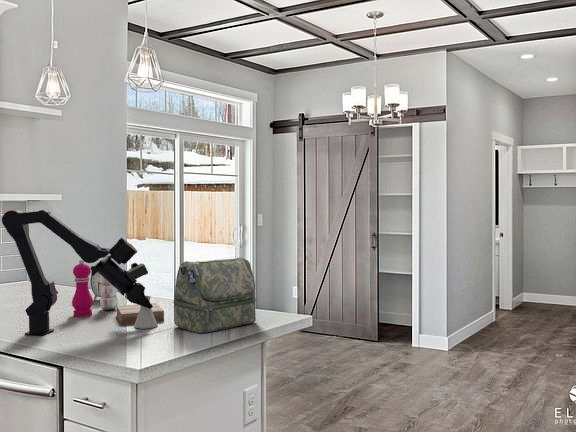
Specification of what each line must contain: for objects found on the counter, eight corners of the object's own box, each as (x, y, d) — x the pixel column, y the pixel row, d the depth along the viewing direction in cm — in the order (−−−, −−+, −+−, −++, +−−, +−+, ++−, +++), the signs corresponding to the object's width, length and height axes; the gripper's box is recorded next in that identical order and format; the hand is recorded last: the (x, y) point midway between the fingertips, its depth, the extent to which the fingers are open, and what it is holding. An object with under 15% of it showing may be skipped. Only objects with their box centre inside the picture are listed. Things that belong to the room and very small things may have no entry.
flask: (148, 323, 205) (147, 293, 204) (162, 326, 200) (161, 295, 200) (129, 327, 199) (129, 296, 199) (143, 330, 194) (143, 298, 194)
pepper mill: (86, 317, 216) (85, 260, 215) (68, 316, 218) (66, 260, 217) (97, 313, 223) (95, 258, 223) (78, 313, 225) (77, 258, 224)
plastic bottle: (99, 311, 226) (98, 257, 226) (100, 308, 233) (99, 255, 232) (118, 310, 228) (117, 257, 228) (118, 307, 235) (117, 255, 234)
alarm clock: (90, 299, 254) (89, 263, 254) (104, 297, 259) (103, 261, 259) (105, 302, 246) (105, 265, 246) (120, 300, 252) (119, 263, 251)
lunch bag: (197, 336, 185) (196, 264, 184) (165, 327, 198) (164, 259, 198) (263, 323, 203) (263, 257, 202) (230, 316, 216) (229, 254, 215)
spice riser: (164, 321, 209) (163, 310, 208) (121, 324, 204) (121, 313, 203) (156, 312, 224) (156, 303, 223) (116, 315, 219) (116, 306, 218)
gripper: (137, 258, 189) (174, 291, 194) (127, 253, 206) (160, 283, 211) (111, 285, 186) (149, 318, 191) (103, 278, 203) (137, 308, 208)
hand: (149, 306), depth 200 cm, fingers open, 5 cm apart
